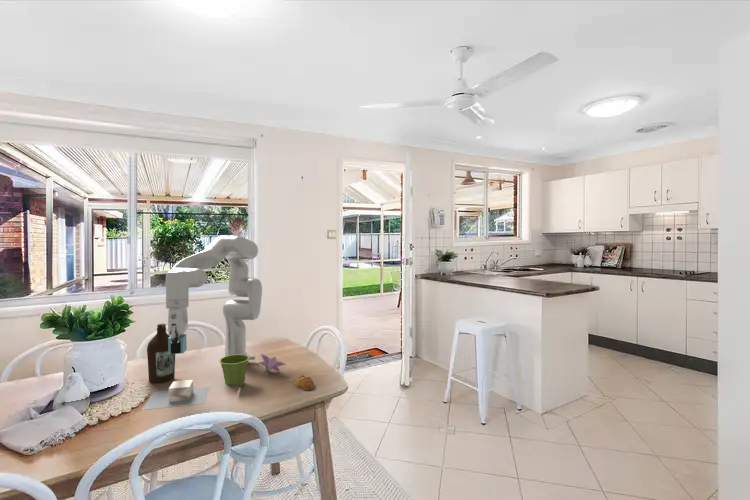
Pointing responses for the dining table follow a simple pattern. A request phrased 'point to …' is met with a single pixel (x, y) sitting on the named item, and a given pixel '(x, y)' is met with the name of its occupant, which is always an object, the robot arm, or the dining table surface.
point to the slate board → (162, 401)
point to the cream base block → (180, 390)
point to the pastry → (304, 382)
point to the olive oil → (160, 357)
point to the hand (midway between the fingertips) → (177, 350)
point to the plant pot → (234, 368)
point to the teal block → (183, 344)
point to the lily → (271, 363)
